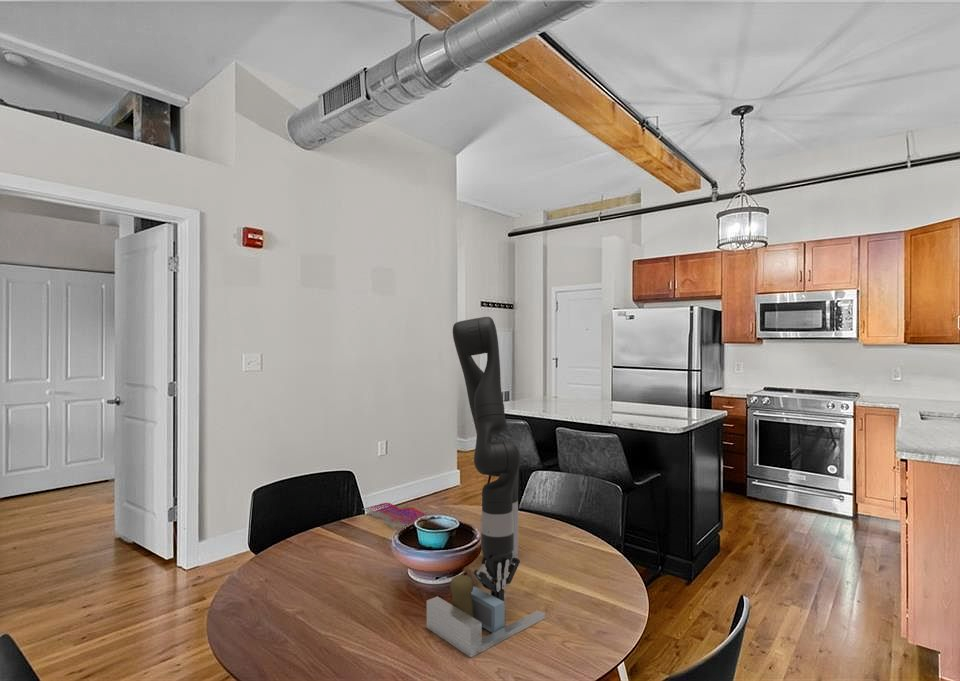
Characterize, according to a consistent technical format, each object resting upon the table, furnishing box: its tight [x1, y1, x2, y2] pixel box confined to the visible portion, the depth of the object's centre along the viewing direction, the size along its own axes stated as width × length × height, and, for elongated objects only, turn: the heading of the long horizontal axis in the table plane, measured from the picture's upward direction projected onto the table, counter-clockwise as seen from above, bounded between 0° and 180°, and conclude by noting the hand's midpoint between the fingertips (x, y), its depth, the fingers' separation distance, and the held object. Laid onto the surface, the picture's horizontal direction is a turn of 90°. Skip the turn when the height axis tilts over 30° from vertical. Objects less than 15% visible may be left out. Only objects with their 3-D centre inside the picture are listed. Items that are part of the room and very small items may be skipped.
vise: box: [426, 592, 546, 659], centre depth 119 cm, size 15×22×6 cm, turn 132°
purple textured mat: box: [362, 502, 427, 530], centre depth 188 cm, size 30×15×5 cm, turn 38°
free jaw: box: [471, 586, 506, 634], centre depth 118 cm, size 10×3×6 cm, turn 42°
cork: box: [449, 574, 474, 618], centre depth 117 cm, size 6×6×11 cm
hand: (497, 605), depth 121 cm, fingers closed
